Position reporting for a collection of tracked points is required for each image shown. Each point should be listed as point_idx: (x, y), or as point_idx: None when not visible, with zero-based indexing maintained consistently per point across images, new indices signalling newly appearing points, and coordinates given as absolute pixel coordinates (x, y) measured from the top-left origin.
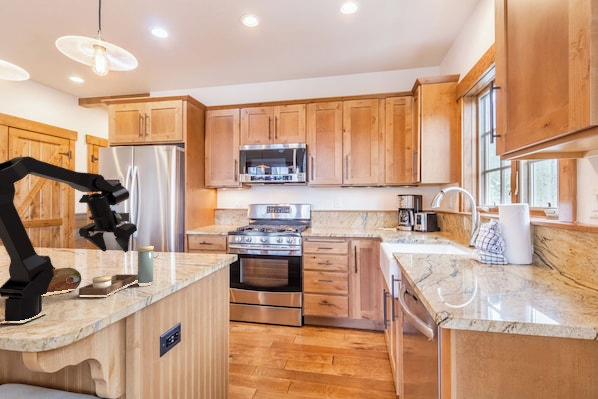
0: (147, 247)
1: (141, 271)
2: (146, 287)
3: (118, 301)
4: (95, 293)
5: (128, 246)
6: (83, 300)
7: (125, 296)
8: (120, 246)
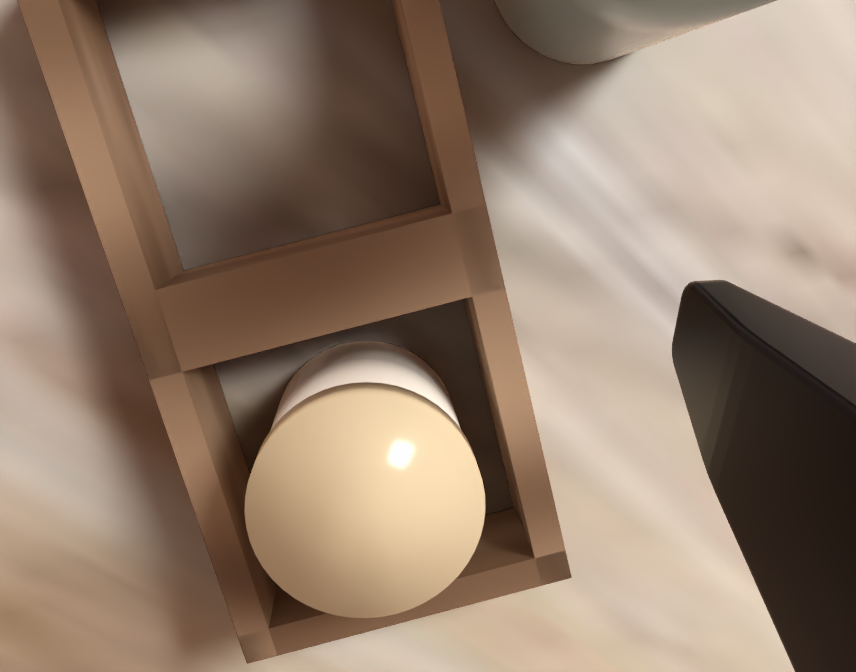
0: None
1: (681, 33)
2: (696, 73)
3: None
4: None
5: (848, 344)
6: (390, 635)
7: None
8: (804, 656)
